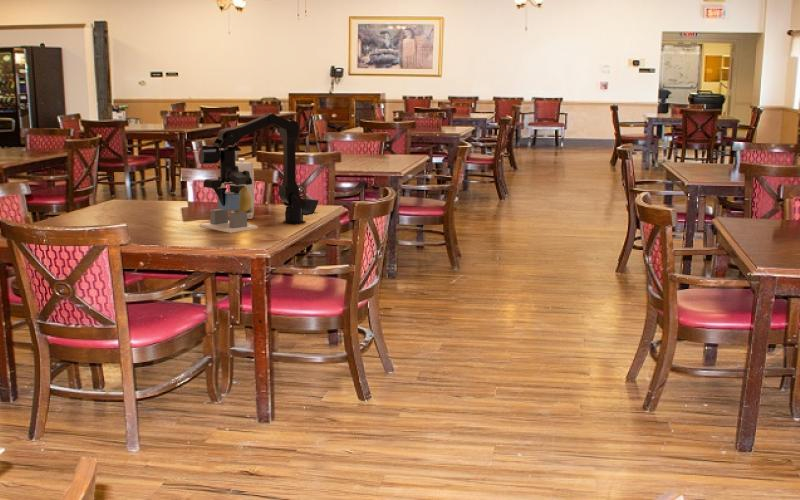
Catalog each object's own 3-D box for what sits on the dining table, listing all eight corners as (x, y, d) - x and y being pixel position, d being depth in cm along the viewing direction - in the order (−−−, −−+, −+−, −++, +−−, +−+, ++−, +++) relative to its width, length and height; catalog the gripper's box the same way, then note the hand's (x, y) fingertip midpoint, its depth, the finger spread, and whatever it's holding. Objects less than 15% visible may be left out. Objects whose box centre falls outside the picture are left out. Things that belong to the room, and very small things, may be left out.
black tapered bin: (282, 210, 366) (292, 189, 370) (287, 218, 372) (296, 198, 376) (307, 216, 362) (316, 195, 366) (312, 224, 369) (321, 204, 372)
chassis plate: (227, 222, 341) (227, 206, 340) (257, 228, 330) (257, 212, 329) (199, 226, 332) (199, 210, 330) (230, 232, 320) (230, 216, 319)
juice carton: (231, 219, 348) (230, 159, 343) (229, 216, 356) (228, 157, 351) (255, 219, 351) (254, 159, 346) (252, 216, 358) (252, 157, 353)
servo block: (224, 206, 335) (223, 190, 333) (242, 210, 328) (242, 193, 326) (214, 208, 331) (214, 191, 330) (233, 211, 324) (233, 194, 323)
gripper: (221, 166, 314) (222, 210, 317) (261, 163, 328) (261, 204, 331) (202, 164, 321) (203, 206, 324) (242, 161, 335) (242, 201, 338)
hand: (228, 205), depth 329 cm, fingers closed on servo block, 4 cm apart
